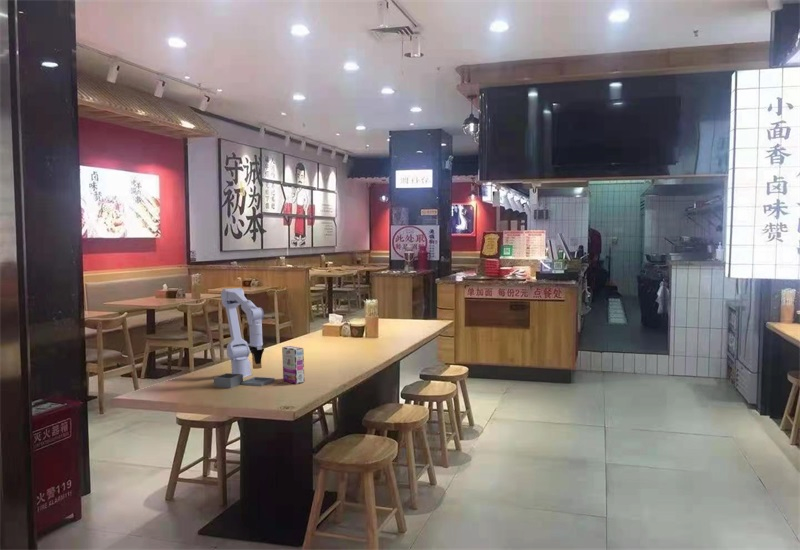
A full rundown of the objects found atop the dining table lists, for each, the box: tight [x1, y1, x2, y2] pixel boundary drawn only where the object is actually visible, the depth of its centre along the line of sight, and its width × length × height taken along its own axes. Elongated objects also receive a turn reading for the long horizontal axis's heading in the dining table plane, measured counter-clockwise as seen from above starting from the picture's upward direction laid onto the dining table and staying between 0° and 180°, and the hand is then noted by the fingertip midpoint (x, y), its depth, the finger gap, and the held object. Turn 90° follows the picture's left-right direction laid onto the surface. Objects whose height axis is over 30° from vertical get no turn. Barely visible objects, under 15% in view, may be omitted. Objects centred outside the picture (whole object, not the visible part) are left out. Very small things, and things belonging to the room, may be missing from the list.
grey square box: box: [213, 372, 244, 389], centre depth 283 cm, size 9×9×5 cm
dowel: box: [251, 353, 262, 370], centre depth 286 cm, size 4×4×7 cm
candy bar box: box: [281, 345, 305, 385], centre depth 288 cm, size 11×5×16 cm, turn 45°
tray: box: [241, 376, 276, 387], centre depth 286 cm, size 11×11×2 cm
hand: (257, 362), depth 286 cm, fingers closed on dowel, 4 cm apart
